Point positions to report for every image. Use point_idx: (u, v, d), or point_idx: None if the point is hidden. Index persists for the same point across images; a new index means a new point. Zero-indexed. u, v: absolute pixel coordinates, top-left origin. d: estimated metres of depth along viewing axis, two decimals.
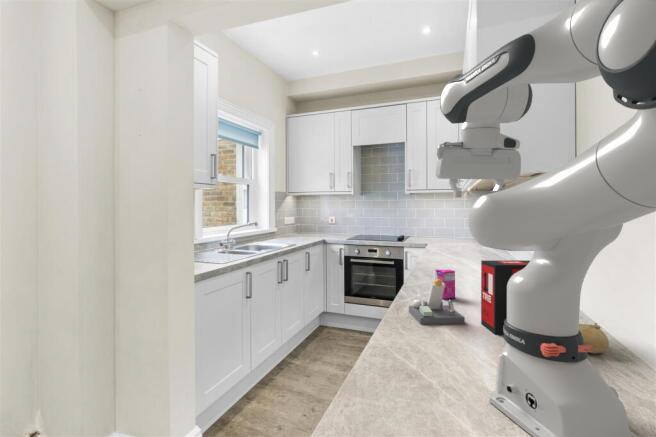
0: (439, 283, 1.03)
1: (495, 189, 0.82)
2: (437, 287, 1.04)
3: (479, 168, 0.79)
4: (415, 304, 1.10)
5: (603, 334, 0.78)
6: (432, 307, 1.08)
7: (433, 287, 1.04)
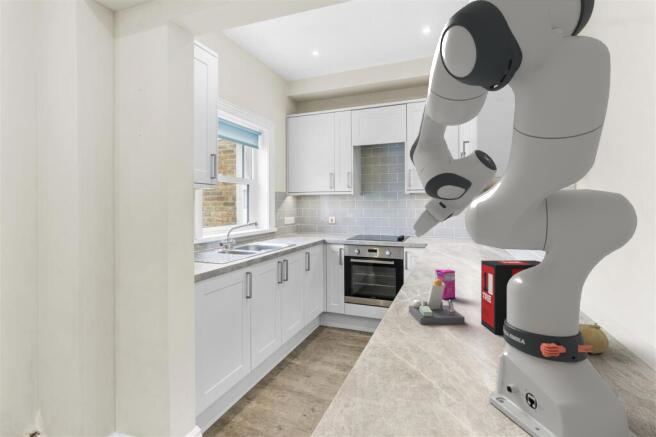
0: (439, 283, 1.03)
1: None
2: (437, 287, 1.04)
3: None
4: (415, 304, 1.10)
5: (603, 334, 0.78)
6: (432, 307, 1.08)
7: (433, 287, 1.04)
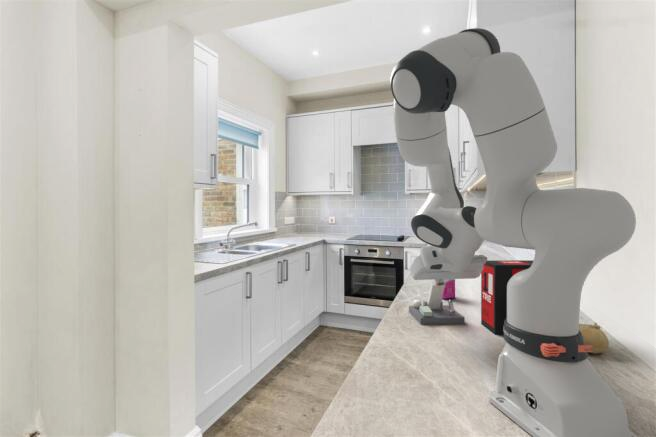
0: None
1: (437, 279, 0.97)
2: (437, 287, 1.04)
3: None
4: (415, 304, 1.10)
5: (603, 334, 0.78)
6: (432, 307, 1.08)
7: (433, 287, 1.04)
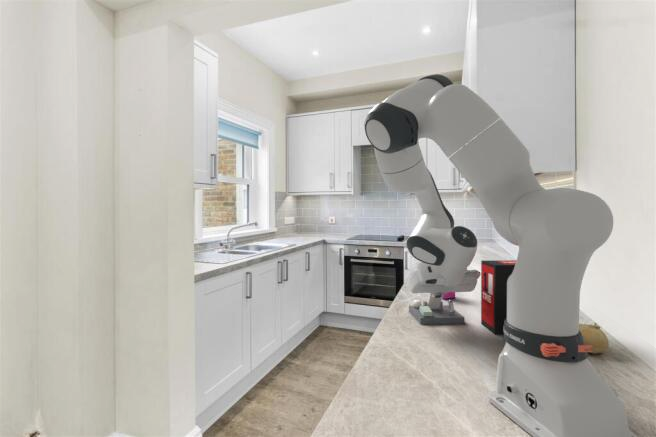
0: None
1: None
2: None
3: None
4: (415, 304, 1.10)
5: (603, 334, 0.78)
6: (432, 307, 1.08)
7: None
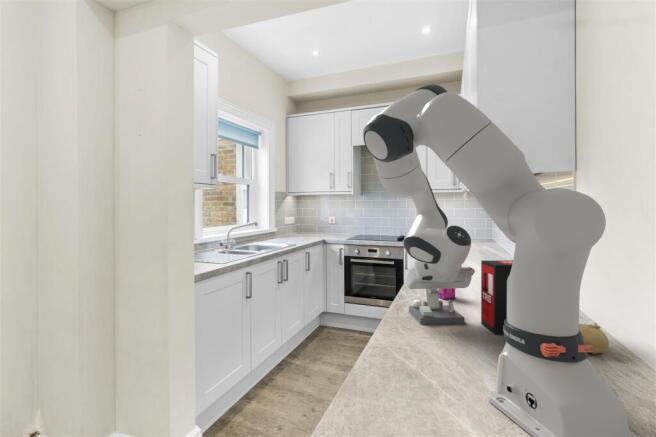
0: None
1: None
2: None
3: None
4: (415, 304, 1.10)
5: (603, 334, 0.78)
6: (432, 304, 1.08)
7: None
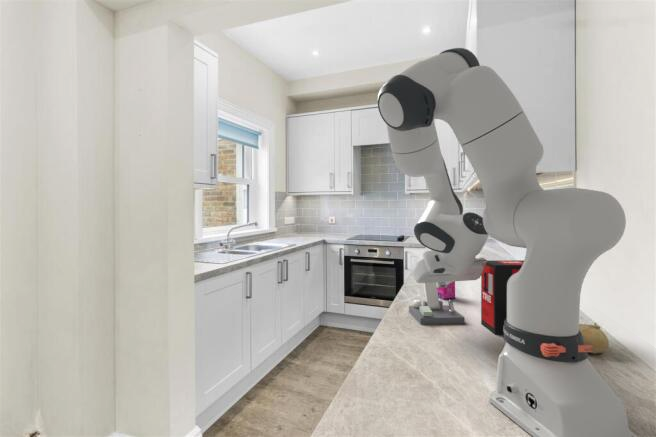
0: None
1: None
2: None
3: None
4: (415, 304, 1.10)
5: (603, 334, 0.78)
6: (432, 305, 1.08)
7: None
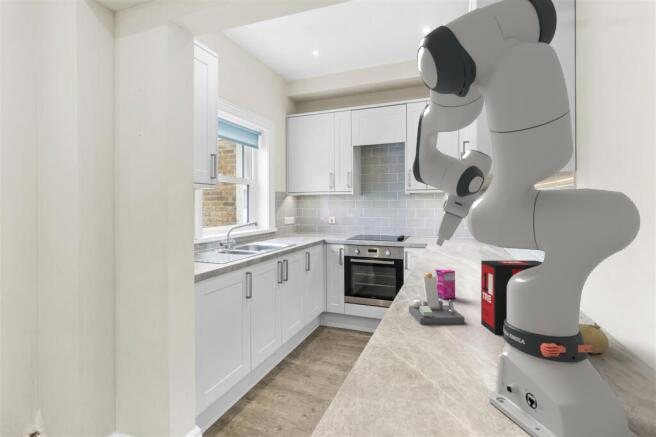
0: (429, 273, 1.12)
1: None
2: (429, 279, 1.12)
3: None
4: (415, 304, 1.10)
5: (603, 334, 0.78)
6: (432, 305, 1.08)
7: (425, 279, 1.12)
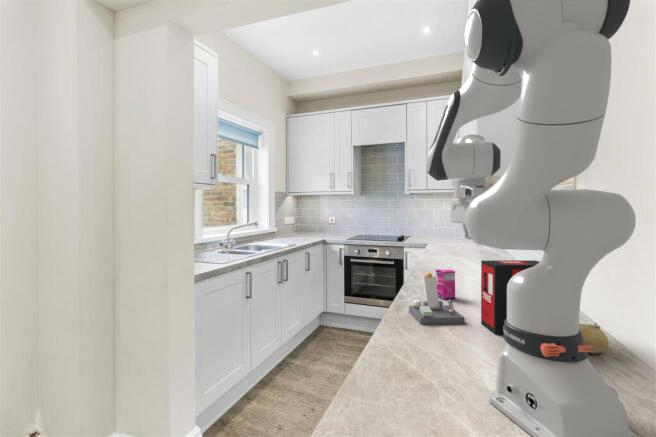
0: (429, 273, 1.12)
1: None
2: (429, 279, 1.12)
3: (463, 214, 0.95)
4: (415, 304, 1.10)
5: (603, 334, 0.78)
6: (432, 305, 1.08)
7: (425, 279, 1.12)
